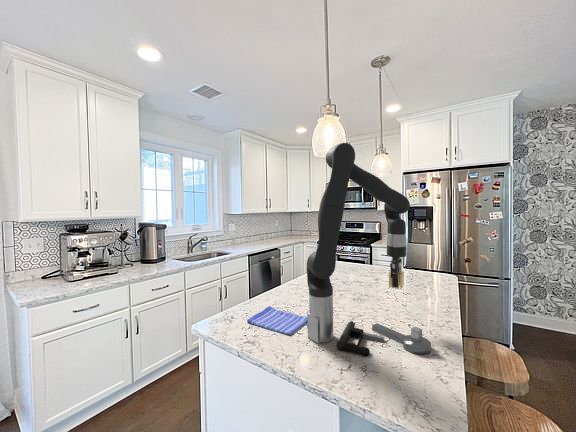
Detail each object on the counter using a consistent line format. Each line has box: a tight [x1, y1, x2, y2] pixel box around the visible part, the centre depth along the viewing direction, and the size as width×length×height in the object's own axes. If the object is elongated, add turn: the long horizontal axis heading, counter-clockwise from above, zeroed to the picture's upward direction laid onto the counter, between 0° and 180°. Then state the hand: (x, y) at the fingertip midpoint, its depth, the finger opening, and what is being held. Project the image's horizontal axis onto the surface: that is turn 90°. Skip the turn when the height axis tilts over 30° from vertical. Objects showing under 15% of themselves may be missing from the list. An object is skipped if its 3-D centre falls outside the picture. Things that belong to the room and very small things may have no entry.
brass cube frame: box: [388, 270, 405, 290], centre depth 111 cm, size 5×5×6 cm
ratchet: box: [371, 323, 432, 356], centre depth 100 cm, size 9×22×7 cm, turn 34°
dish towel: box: [246, 305, 307, 336], centre depth 119 cm, size 17×24×3 cm
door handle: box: [336, 320, 385, 357], centre depth 100 cm, size 3×20×16 cm
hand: (396, 285), depth 111 cm, fingers closed on brass cube frame, 5 cm apart
